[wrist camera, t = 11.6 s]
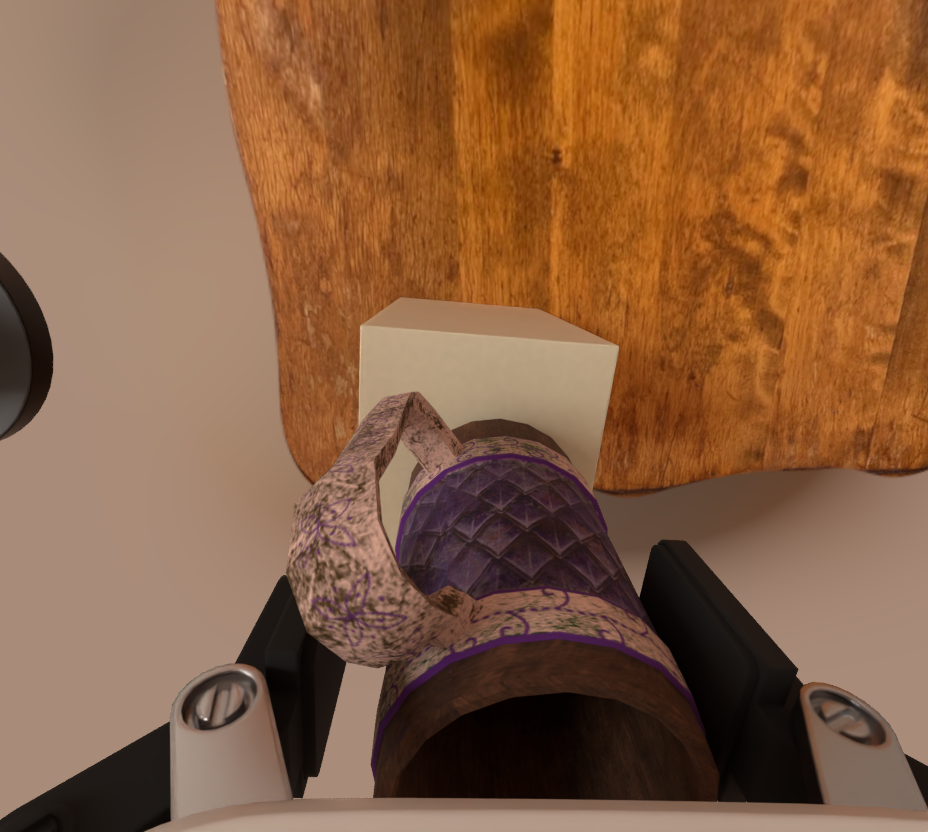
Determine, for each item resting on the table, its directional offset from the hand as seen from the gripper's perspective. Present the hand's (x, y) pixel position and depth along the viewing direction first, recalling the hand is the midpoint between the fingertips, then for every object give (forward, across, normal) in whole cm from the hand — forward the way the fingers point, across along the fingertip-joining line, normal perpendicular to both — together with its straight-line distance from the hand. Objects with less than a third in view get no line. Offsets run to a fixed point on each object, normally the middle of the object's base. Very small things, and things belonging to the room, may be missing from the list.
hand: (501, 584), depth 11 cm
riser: (+24, 0, 0) cm, 24 cm away
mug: (+8, 0, 0) cm, 8 cm away
